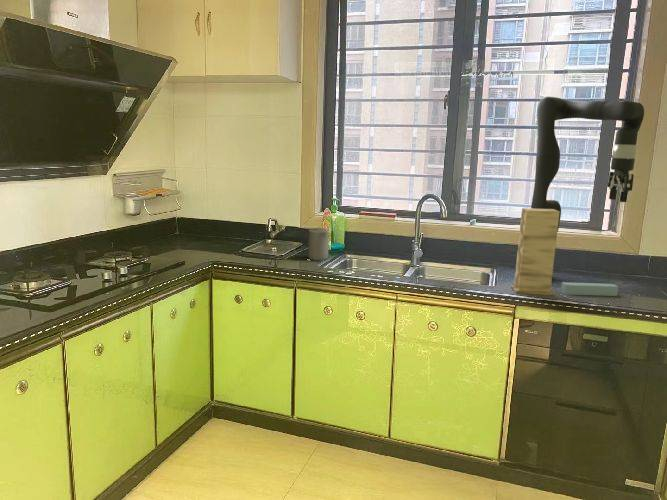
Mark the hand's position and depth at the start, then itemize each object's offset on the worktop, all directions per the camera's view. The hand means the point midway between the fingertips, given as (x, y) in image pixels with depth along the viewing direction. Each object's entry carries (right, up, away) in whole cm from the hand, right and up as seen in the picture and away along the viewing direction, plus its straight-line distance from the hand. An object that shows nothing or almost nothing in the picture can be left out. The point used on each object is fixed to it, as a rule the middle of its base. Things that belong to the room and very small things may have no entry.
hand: (617, 200), depth 199 cm
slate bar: (-8, -36, +6) cm, 37 cm away
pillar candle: (-115, -23, +54) cm, 129 cm away
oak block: (-30, -35, +6) cm, 46 cm away
